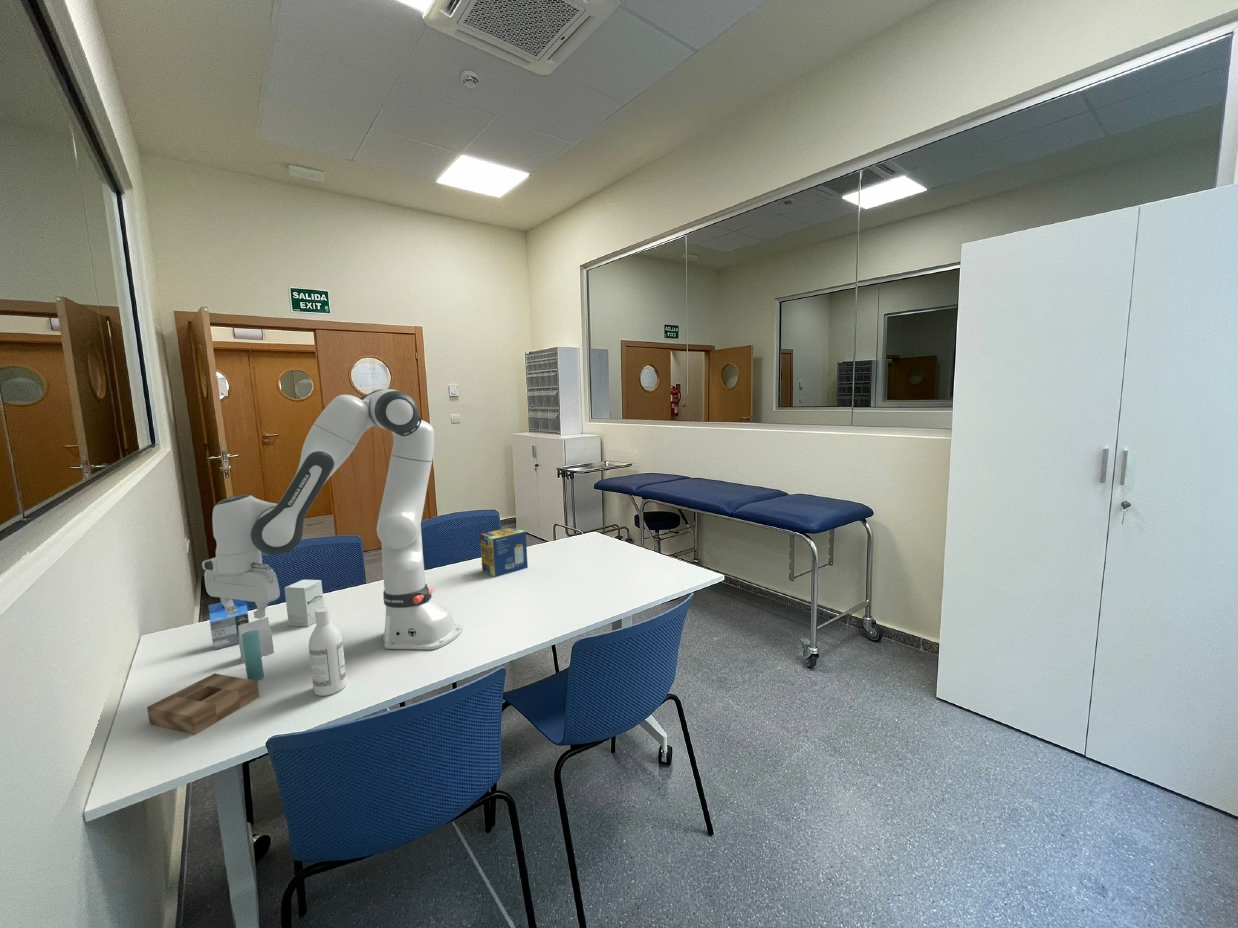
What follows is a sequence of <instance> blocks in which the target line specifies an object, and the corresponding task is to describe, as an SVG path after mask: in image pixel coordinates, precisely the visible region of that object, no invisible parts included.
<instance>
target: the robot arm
mask: <svg viewBox="0 0 1238 928" xmlns="http://www.w3.org/2000/svg"><path fill="white" fill-rule="evenodd" d="M372 427H378V428H380V429H382V430H387V431H390V433H391V434H392V437H393V445H392V449H391V454H390V459H389V464H388V469H387V470H388V471H387V475H386V476H387V477H386V480H385V481H386V482H385V484H384V491H383V493H382V494H383V495H382V500H381V504H380V509H379V514H378V519H377V523H376V535H377V537H378V539H379V540H380V542H381V566H382V578H383V579H382V580H383V587H384V590H383V592H382V594H383V597H382V598H383V604H384V606H385V622H384V623H385V624H384V631H383V632H384V633H383V636H382V641H383V642H384V644H383V645H384V649H387V650H388V649H389V650H392V649H393V650H427V651H428V650H431V651H432V650H436V649H439V648H442V647H444V646H447V645H448V644H449V643H450V642H453V640H455V639H456V638H457V637H458V636H460V634H461V633H462V631H463V626H462V625H461V624H457V623H455V622H454V617H453V614H452V612H451V611H450V610H449V609H448V608H446V607H445V606H443V604H441V603H440V602H439V601H437V599H434V598H433V596H432V594H433V593H434V592H435V591H434V590H435V588H431V589H429V587H428V585H427V583H426V576H425V563H424V553H423V552H424V550H423V538H422V537H423V536H422V525H421V523H422V519H423V513H424V507H425V503H426V497H427V492H428V485H429V481H430V480H429V479H430V474H431V469H432V465H433V458H434V452H435V451H434V450H435V429H434V428H433V425H431V424H430V423H428V422H427V421H426V420H422V418H421V416H420V413H419V409H418V406H417V403H416V402H415V400H414V399H413V398H412V397H411V396H410V395H409V394H408V393H405V392H404V391H400V390H397V389H392V388H391V389H390V388H386V389H377V390H373V391H372V392H370V393H367V394H366V395H364V396H362V397H360V398H359V397H357V396H354V395H351V394H340V395H336V396H335V397H334V398H333V399H331V401H330V402H329V403H328V404H327V406H326V407H325V408H324V409H323V410H322V412H321V413H320V415H319V416H318V417H317V418H316V420H315V421H314V423H313V424H312V426H311V427H310V429H309V431H308V433H307V436H306V437H305V440H304V442H303V444H302V449H301V455H300V460H299V464H298V468H297V470H296V473H295V475H294V477H293V478H292V480H291V482H290V484H289V485H288V487H287V489H286V491H285V492H284V493H283V495H282V497H281V498H280V499H279V502H278V503H275V502H269V501H265V500H262V499H259V498H257V497H254V496H253V495H251V494H238V495H233V496H230V497H227V498H224V499H222V500H220V501H218V502H217V503H216V504H215V505H214V506H213V509H212V516H211V517H212V534H213V538H214V539H215V542H216V548H215V557H212V558H209V559H205V560H203V561H202V563H201V567H202V569H203V570H205V571H204V576H203V577H204V585H205V590H206V592H207V594H208V595H209V597H212V598H213V597H214V598H220V599H219V600H220V603H222V604H223V605H224V606H223V608H225V609H226V614H230V615H232V614H235V613H236V612H237V606H235V605H234V603H233V601H232V600H244V601H247V602H253V603H255V606H257V608H256V610H255V611H253V615H254V616H253V618H254V619H257V620H259V619H263V618H266V609H267V607H268V605H269V603H271V602H274V601H277V600H278V599H279V598H280V595H281V591H280V585H279V582H278V577H277V575H276V574H277V573H276V572H275V571H274V569H273V568H272V567H270V565H269V564H266V563H263V558H262V557H263V556H262V553H265V554H268V555H272V556H273V555H275V556H277V555H282V554H286V553H287V554H288V552H289V553H290V551H292V550H294V549H295V548H296V547H297V546H298V545H299V543H300V542H301V540H302V537H303V532H304V521H305V518H306V516H307V514H308V512H309V510H310V508H311V507H312V505H313V504H314V502H315V500H316V498H317V496H318V494H319V493H320V491H321V490H322V488H323V486H324V485H325V484H326V483H327V481H328V480H329V479H330V477H332V476H333V475H334V473H336V471H337V470H338V469H339V468H340V467H341V465H343V464H344V463H345V462H346V461H347V459H348V458H349V456H350V455H351V453H352V452H353V451H354V449H355V448H356V446H357V444H358V443H359V441H360V439H361V437H363V435H364V433H365V432H366V431H367V430H369V429H371V428H372Z"/></svg>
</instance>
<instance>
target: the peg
mask: <svg viewBox="0 0 1238 928" xmlns="http://www.w3.org/2000/svg"><path fill="white" fill-rule="evenodd" d="M241 636H242V643H243V651H244V658H245V663H244V665H245V670H246V671H245V672H246V679H249V680H255V681H261V680H262V679H263V678H264V677H265V674H264V667H263V666H264V665H263V660H262V659H263V657H261V649H260V642H259V634H258V631H257V630H253V631H248V632H245V633H243V634H242V635H241Z"/></svg>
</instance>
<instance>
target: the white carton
mask: <svg viewBox="0 0 1238 928" xmlns="http://www.w3.org/2000/svg"><path fill="white" fill-rule="evenodd" d="M253 630H257V631H258V634H259V642H260V649H261V657H262V658H263V656H264V657H267V656H270V655H273V654H275V651H274V643H273V634H272V630H271V625H270V622H269V617H267V616H265V617H263V618H261V619H256V620H252V621H249V623H246V624H242V625H239V626H238V639H239V643H238V645H239V652H240V659H241V661H242V662H243V663H244V664H245V658H244V651H243V643H242V636H241V635H242V634H243V633H245V632H248V631H253ZM272 653H273V654H272Z"/></svg>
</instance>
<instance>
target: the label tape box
mask: <svg viewBox="0 0 1238 928" xmlns="http://www.w3.org/2000/svg"><path fill="white" fill-rule="evenodd" d="M232 601H233V603H234V605H235V606H237V612H236V613H235V614H232V615H230V614H226V609H225V607H224V605H223V604H222V602H218V603H214V604H209V605H208V610H209V611H208V612H209V614H208V616H209V626H210V634H211V640H212V646H213V650H219V649H222V648H226V647H230V646H233V645H234V646H235V645H239V639H238V626H239V625H242V624H246V623H249V622H250V620H249V619H250V618H249V612H248V605H247V602H246V601H244V600H236V599H232Z"/></svg>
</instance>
